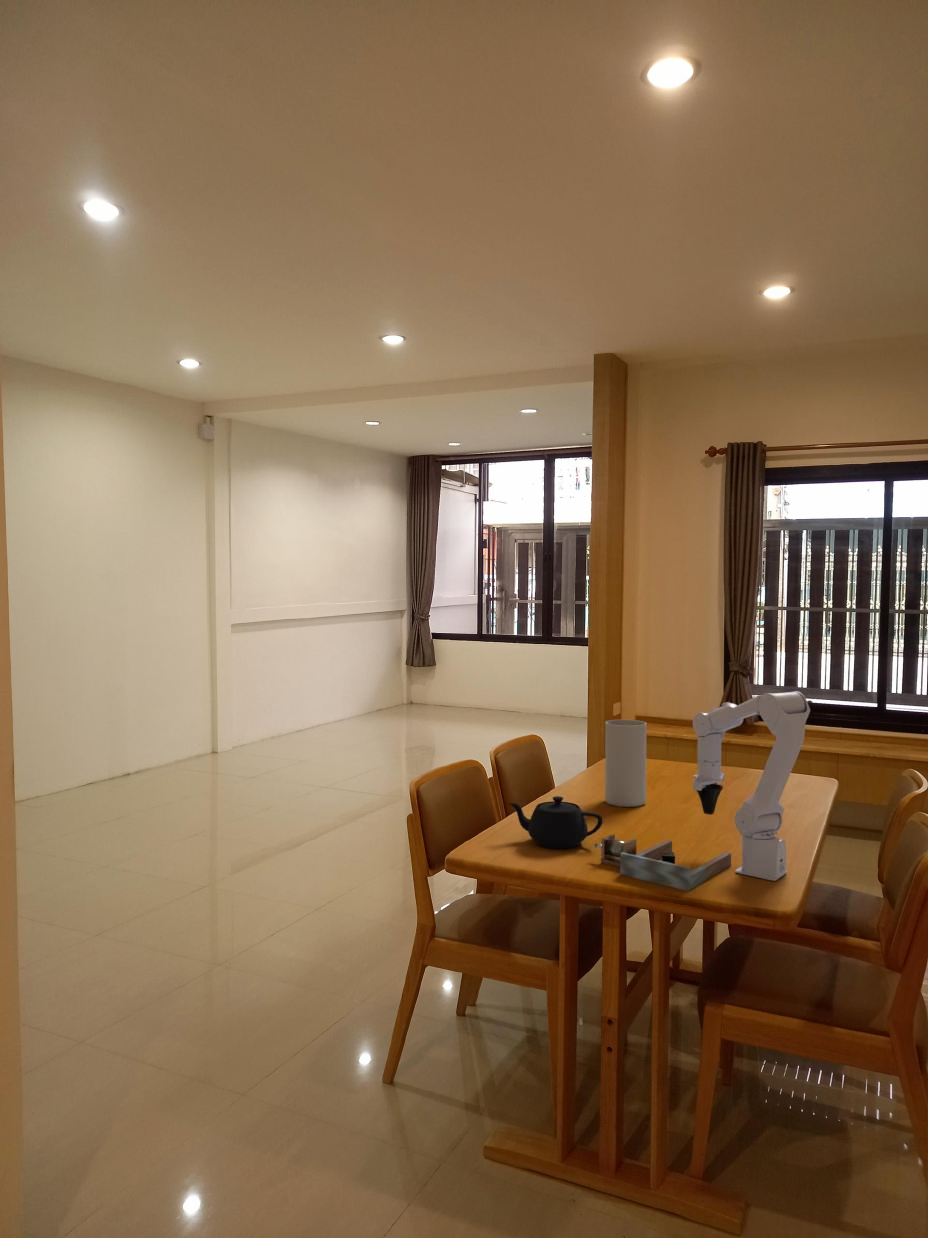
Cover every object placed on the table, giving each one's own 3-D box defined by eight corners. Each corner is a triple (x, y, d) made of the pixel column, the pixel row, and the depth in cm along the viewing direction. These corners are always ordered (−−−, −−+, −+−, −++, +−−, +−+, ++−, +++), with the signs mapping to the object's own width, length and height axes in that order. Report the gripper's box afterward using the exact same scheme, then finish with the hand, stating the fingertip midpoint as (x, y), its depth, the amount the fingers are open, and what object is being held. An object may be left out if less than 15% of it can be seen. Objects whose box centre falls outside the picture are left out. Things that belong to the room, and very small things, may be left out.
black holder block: (652, 864, 212) (652, 845, 212) (683, 866, 210) (683, 847, 210) (653, 880, 200) (653, 860, 200) (686, 882, 198) (686, 862, 198)
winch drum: (636, 863, 210) (636, 839, 210) (626, 868, 206) (626, 844, 206) (603, 856, 216) (603, 832, 216) (592, 861, 212) (592, 836, 212)
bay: (731, 865, 209) (731, 844, 209) (688, 891, 191) (688, 868, 191) (666, 851, 220) (666, 832, 220) (620, 874, 202) (620, 853, 202)
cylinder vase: (638, 809, 261) (638, 727, 260) (599, 804, 267) (599, 724, 266) (651, 800, 272) (651, 721, 271) (613, 796, 278) (613, 718, 277)
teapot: (606, 838, 231) (606, 793, 231) (598, 856, 216) (598, 807, 216) (515, 831, 238) (514, 787, 238) (501, 847, 224) (501, 800, 223)
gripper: (706, 753, 226) (706, 805, 227) (681, 762, 215) (681, 816, 216) (732, 757, 222) (732, 810, 222) (708, 766, 210) (707, 821, 211)
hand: (708, 813), depth 218 cm, fingers closed
